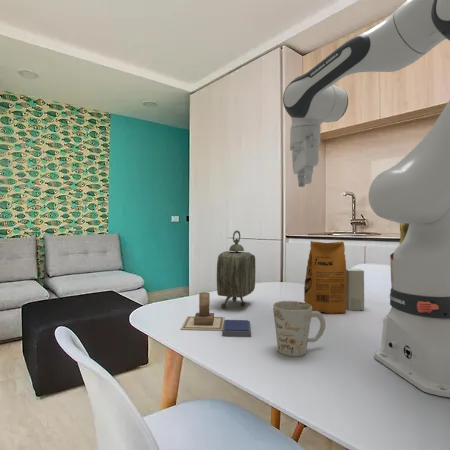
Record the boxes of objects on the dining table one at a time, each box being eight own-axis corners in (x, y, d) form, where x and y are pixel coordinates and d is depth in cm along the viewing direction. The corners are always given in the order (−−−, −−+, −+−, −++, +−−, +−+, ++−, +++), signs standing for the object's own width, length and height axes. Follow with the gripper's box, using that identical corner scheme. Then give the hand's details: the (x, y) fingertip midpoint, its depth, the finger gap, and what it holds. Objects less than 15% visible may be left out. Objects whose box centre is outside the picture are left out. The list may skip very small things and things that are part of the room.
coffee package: (302, 305, 113) (303, 240, 112) (340, 306, 111) (341, 240, 111) (306, 313, 103) (307, 241, 102) (348, 314, 101) (349, 242, 101)
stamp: (212, 325, 89) (212, 295, 89) (193, 325, 89) (194, 295, 89) (214, 320, 94) (214, 291, 94) (196, 319, 94) (196, 291, 94)
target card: (223, 330, 86) (223, 329, 86) (180, 329, 86) (180, 328, 86) (224, 318, 97) (224, 316, 97) (187, 317, 97) (187, 316, 97)
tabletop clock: (231, 299, 119) (232, 229, 119) (255, 302, 116) (256, 230, 116) (216, 309, 106) (217, 230, 106) (243, 312, 103) (244, 231, 102)
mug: (265, 346, 75) (266, 302, 75) (312, 340, 80) (313, 298, 80) (285, 361, 67) (285, 312, 67) (336, 353, 72) (336, 306, 72)
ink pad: (251, 336, 81) (251, 330, 81) (222, 336, 82) (222, 330, 82) (249, 325, 90) (249, 319, 90) (223, 324, 91) (224, 319, 91)
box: (360, 307, 111) (360, 268, 110) (364, 310, 106) (365, 270, 106) (343, 306, 111) (344, 268, 111) (347, 310, 107) (347, 270, 107)
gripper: (324, 130, 90) (323, 181, 90) (308, 146, 110) (308, 188, 111) (301, 130, 90) (300, 181, 91) (289, 146, 111) (288, 188, 111)
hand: (304, 185), depth 101 cm, fingers open, 8 cm apart
